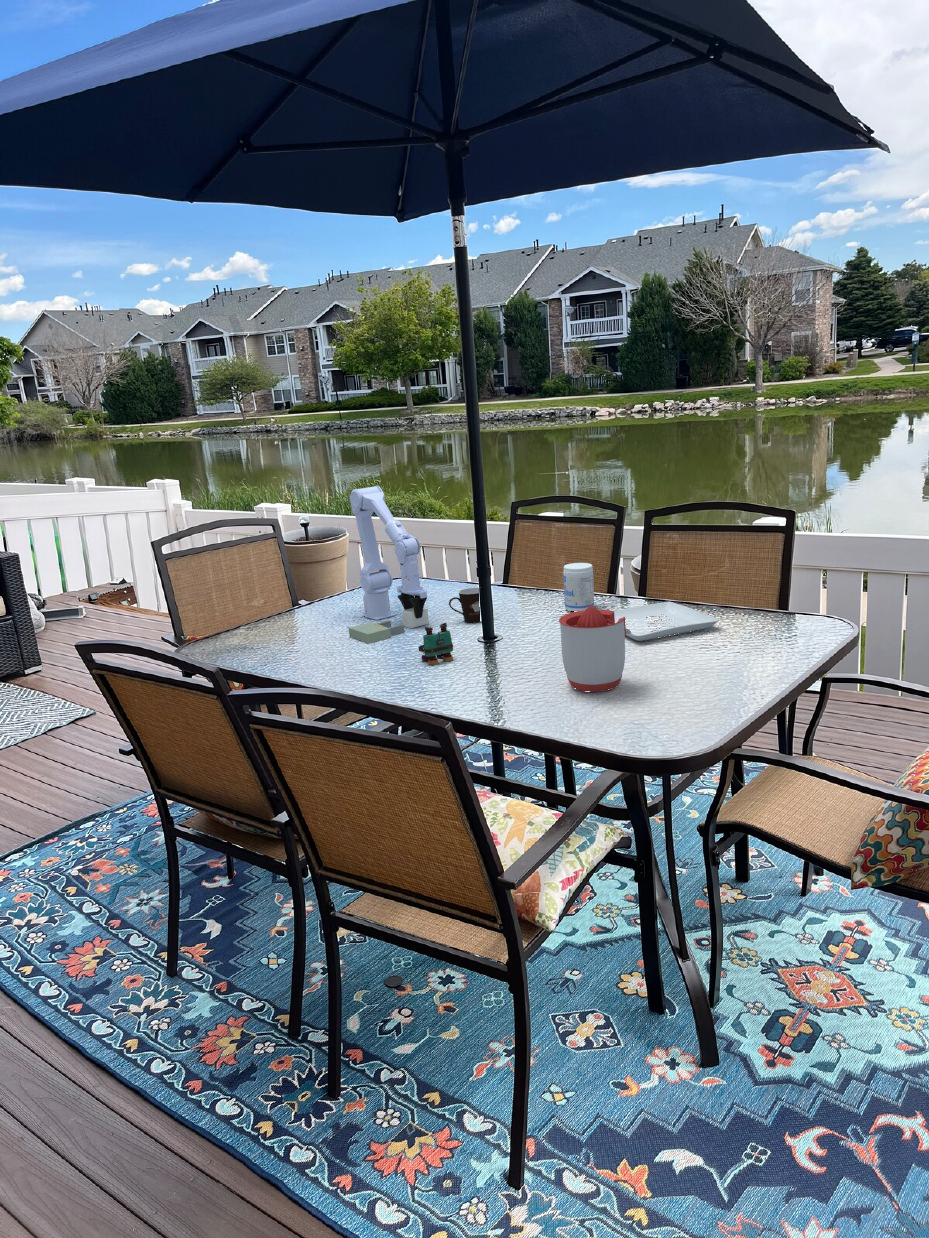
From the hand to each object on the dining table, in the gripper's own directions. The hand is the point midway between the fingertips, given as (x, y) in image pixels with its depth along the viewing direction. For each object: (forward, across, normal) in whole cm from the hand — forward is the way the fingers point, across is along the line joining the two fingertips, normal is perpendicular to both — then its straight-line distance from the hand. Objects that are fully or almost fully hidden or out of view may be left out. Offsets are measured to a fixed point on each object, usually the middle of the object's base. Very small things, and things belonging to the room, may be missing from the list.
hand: (414, 616), depth 270 cm
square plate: (+3, -63, -43) cm, 76 cm away
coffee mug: (+3, -11, -14) cm, 18 cm away
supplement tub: (+3, -30, -45) cm, 54 cm away
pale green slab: (+3, 0, +14) cm, 14 cm away
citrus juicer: (+3, -85, +3) cm, 85 cm away
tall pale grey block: (+3, 0, 0) cm, 3 cm away
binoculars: (+3, -36, +17) cm, 40 cm away
